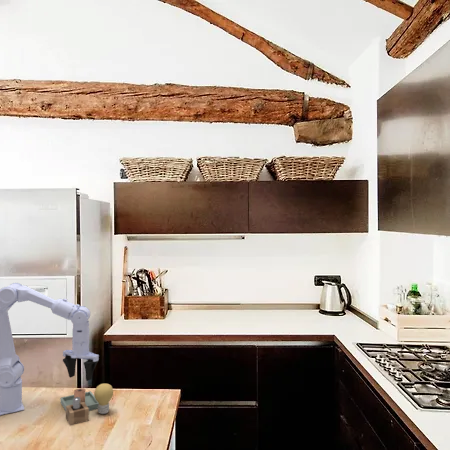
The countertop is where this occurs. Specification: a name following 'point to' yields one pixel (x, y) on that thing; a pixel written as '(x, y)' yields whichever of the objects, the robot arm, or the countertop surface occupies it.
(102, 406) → the light bulb
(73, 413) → the walnut block
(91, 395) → the tray
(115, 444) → the countertop surface
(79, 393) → the terracotta round
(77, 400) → the cylinder
